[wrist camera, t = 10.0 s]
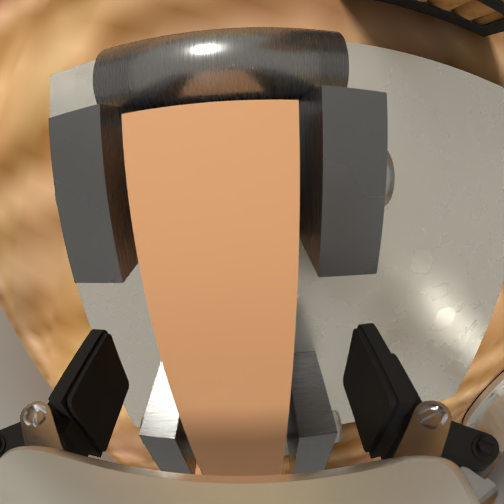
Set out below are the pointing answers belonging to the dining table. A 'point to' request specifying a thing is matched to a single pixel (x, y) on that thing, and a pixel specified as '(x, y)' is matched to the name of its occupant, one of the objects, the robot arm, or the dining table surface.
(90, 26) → the dining table surface
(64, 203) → the plate with roller
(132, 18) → the dining table surface
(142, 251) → the bar
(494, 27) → the ammunition clip
